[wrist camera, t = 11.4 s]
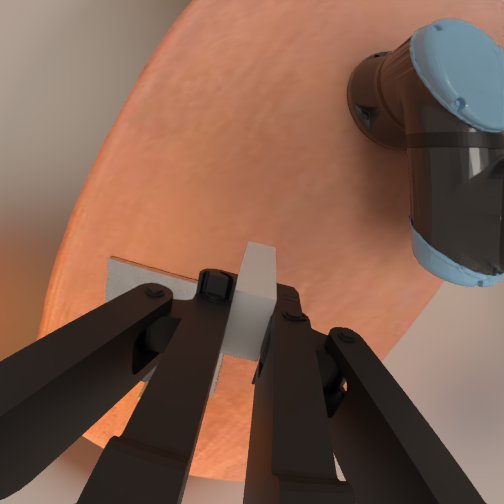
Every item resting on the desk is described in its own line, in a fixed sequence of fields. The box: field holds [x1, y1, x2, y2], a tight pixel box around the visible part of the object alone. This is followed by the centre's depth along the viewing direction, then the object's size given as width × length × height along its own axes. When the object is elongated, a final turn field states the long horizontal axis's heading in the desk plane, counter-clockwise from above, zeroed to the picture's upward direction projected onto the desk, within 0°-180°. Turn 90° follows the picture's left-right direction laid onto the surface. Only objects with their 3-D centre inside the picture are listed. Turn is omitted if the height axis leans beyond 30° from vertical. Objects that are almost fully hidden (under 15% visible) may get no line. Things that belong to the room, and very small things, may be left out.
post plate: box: [106, 256, 223, 396], centre depth 50 cm, size 22×22×6 cm
